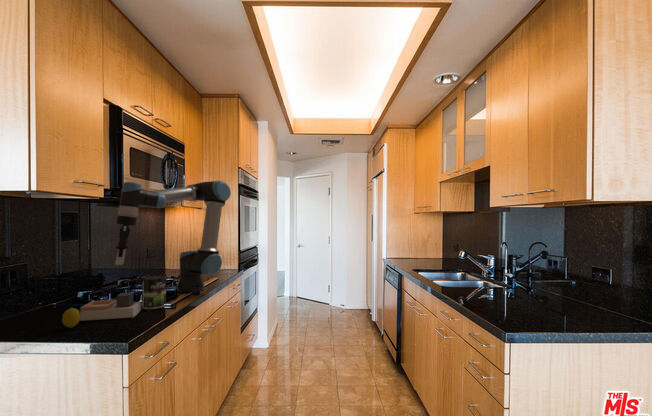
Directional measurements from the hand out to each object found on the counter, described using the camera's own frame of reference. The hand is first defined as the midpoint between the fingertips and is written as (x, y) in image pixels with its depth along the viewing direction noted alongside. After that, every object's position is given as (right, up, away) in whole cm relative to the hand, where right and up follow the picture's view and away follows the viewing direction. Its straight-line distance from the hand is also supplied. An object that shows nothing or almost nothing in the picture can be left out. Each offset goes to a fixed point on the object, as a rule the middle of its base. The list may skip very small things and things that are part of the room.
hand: (119, 263), depth 140 cm
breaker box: (-3, -23, 0) cm, 23 cm away
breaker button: (+2, -20, +1) cm, 20 cm away
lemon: (-9, -23, -16) cm, 29 cm away
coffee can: (+8, -23, +14) cm, 28 cm away
